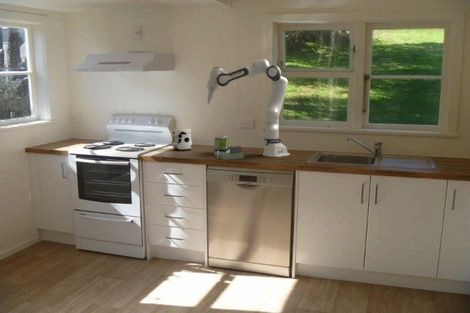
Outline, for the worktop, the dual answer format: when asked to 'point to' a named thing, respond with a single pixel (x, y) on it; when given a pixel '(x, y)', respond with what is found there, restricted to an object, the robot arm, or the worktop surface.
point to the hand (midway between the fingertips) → (208, 102)
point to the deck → (231, 153)
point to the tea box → (222, 144)
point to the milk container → (182, 139)
